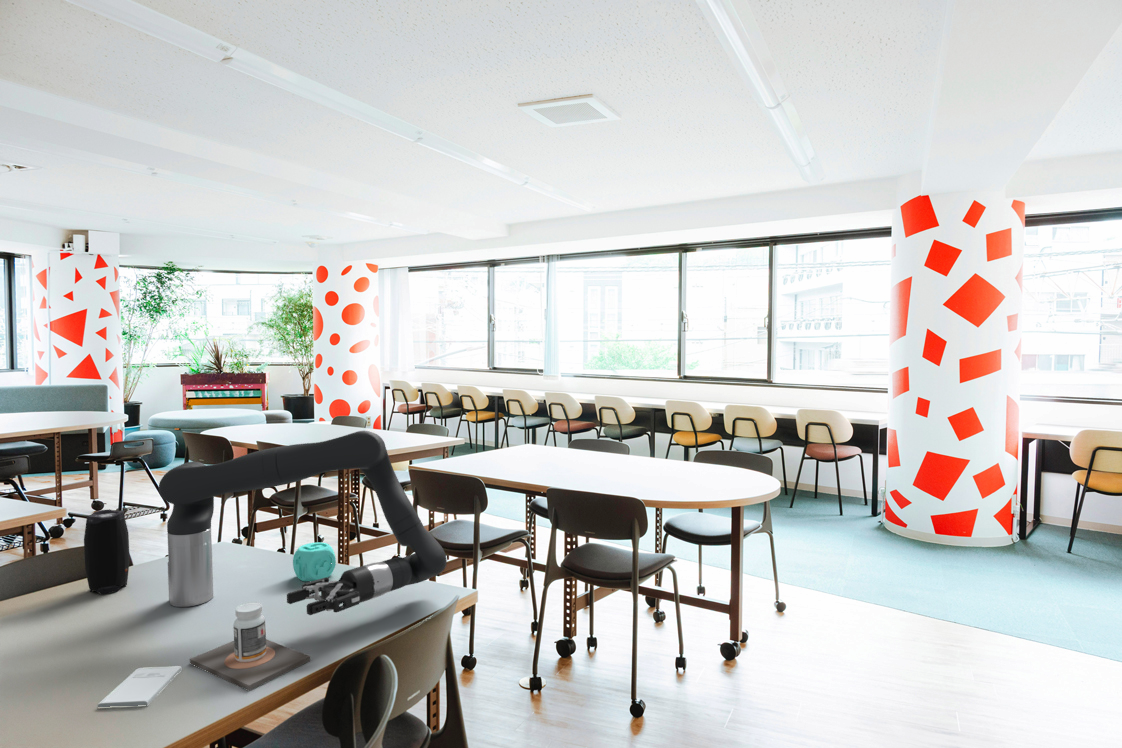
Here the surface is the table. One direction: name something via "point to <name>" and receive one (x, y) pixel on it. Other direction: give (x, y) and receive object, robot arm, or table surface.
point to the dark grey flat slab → (250, 664)
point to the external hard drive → (140, 686)
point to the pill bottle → (249, 633)
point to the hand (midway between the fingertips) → (297, 604)
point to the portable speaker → (106, 551)
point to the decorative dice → (314, 561)
